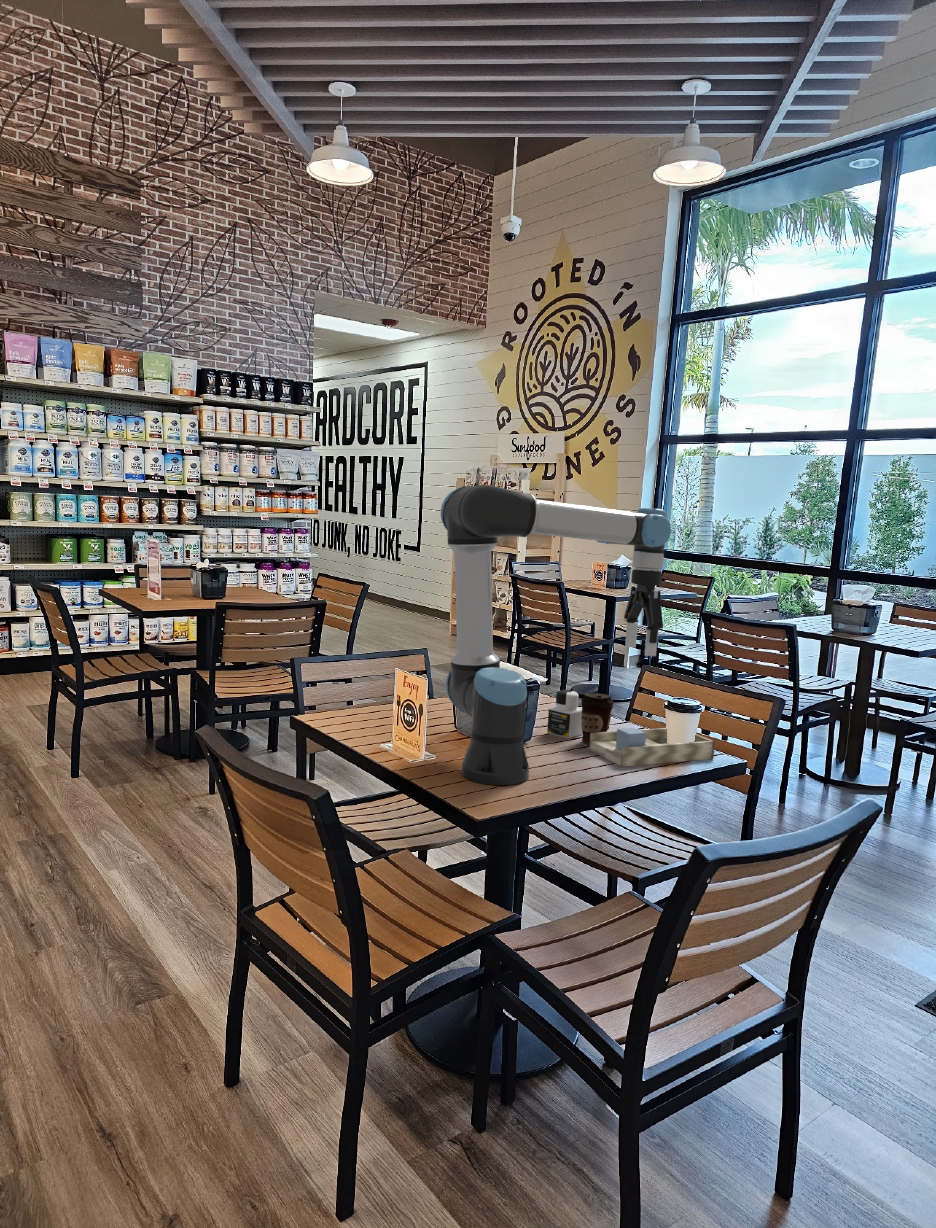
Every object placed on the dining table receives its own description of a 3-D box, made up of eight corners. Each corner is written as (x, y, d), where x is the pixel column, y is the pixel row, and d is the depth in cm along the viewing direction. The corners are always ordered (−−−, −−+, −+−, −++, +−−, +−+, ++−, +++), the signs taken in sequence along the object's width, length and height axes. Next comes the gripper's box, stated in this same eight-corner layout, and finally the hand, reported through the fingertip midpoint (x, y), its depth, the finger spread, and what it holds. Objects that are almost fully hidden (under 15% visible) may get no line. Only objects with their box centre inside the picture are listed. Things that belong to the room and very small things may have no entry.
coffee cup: (600, 749, 205) (603, 700, 203) (572, 742, 210) (575, 694, 208) (615, 743, 212) (619, 695, 210) (587, 737, 216) (591, 690, 215)
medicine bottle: (546, 733, 218) (549, 690, 217) (561, 729, 223) (564, 687, 222) (568, 739, 213) (571, 695, 212) (582, 734, 219) (585, 692, 217)
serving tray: (622, 766, 190) (623, 748, 190) (589, 750, 204) (590, 732, 203) (713, 758, 202) (715, 741, 201) (676, 743, 215) (678, 727, 214)
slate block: (627, 754, 193) (629, 734, 192) (615, 748, 197) (617, 728, 197) (644, 752, 195) (646, 732, 194) (632, 747, 199) (633, 727, 199)
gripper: (681, 573, 191) (673, 660, 193) (642, 567, 216) (635, 644, 218) (652, 571, 190) (644, 659, 192) (616, 565, 214) (609, 643, 217)
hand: (639, 651), depth 205 cm, fingers open, 13 cm apart
